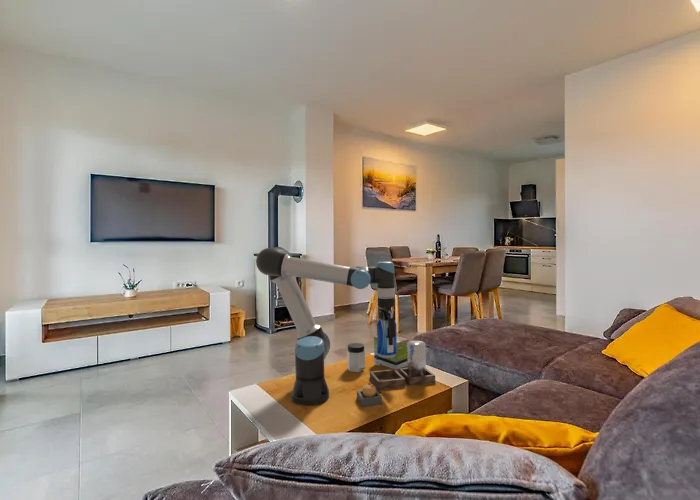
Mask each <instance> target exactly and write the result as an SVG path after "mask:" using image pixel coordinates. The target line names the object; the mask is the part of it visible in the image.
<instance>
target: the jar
mask: <svg viewBox="0 0 700 500" xmlns="http://www.w3.org/2000/svg"><path fill="white" fill-rule="evenodd" d="M346 351H347V354H346V357H347V359H346V361H347V370H348V371H349V372H350V373H361V372H363V371H364V368H366V350H365V344H363V343H360V342H352V343H349V344H347V350H346Z"/></svg>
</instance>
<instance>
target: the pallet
mask: <svg viewBox="0 0 700 500" xmlns="http://www.w3.org/2000/svg"><path fill="white" fill-rule="evenodd" d="M368 379H369V380H368V381H369V382H370V385H373V386H375V387H376V390H377V391H378V392H379V394H380V395H381V394H382V392H381V391H382V390H385V391H386V390H392V389H401V388H407V387H416V386H423V385H424V386H425V385H434V384H437V382H436V375H435V374H434V373H433V372H431V371H430V370H429V369H428V368H426V376H418V377H410V376H409V375H408V367H402V368H399V369H398V370H395V369H392V368H390V369H385V370H374V371H373V370H372V371H369V378H368Z"/></svg>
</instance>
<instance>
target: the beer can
mask: <svg viewBox="0 0 700 500" xmlns="http://www.w3.org/2000/svg"><path fill="white" fill-rule="evenodd" d="M387 328H389V327H388V321H387V323H386V321H384V319H381V318H380V319H379V318H378V322H377V324H376V334H377V335H376V337H377V353H378V354H379V356H380V357H383V358H392V357H394V356H395V355H396V353H397V336H398V335H397V333H398V332H397V322H395V335H396V336H395V337H393V352H390V353H387V338H386V336H387Z"/></svg>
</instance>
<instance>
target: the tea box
mask: <svg viewBox="0 0 700 500" xmlns="http://www.w3.org/2000/svg"><path fill="white" fill-rule="evenodd" d="M409 341H410V340H409V339H408V338H405V337H401V336H398V335H397V353H396V355H395V356H394V357H392V358H383V357H380V356H379V354H378V353H377V336H374V338H373V343H374V344H373V349H374V351H373V353H374V354H373V357H374V360H373V361H374V362H373V363H374V365H375V366H378V367H382V366H384V367H387V368H390V369H395V370H396V371H398V370H399V369H400V368H406V367H408V364H407V342H409Z"/></svg>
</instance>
